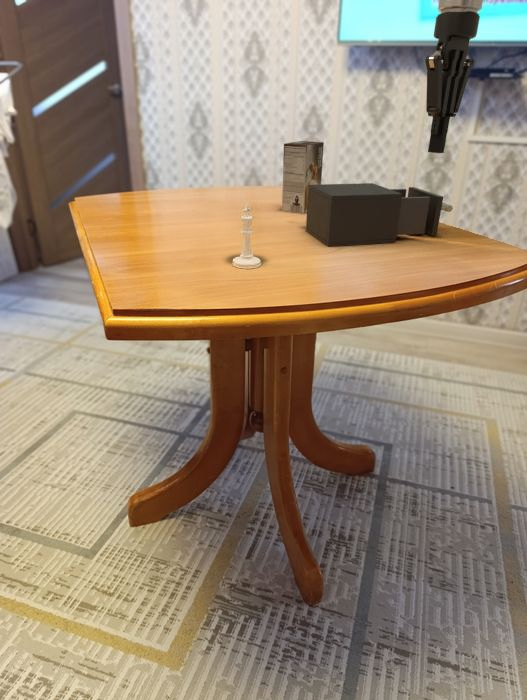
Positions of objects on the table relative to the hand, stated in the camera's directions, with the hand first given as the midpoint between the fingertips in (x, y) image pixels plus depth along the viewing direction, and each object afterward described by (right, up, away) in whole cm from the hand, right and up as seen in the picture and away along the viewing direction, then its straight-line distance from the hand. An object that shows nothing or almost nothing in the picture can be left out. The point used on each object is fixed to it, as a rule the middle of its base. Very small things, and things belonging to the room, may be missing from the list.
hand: (435, 152), depth 102 cm
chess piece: (-38, -25, -15) cm, 48 cm away
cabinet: (-17, -16, +3) cm, 24 cm away
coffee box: (-25, -6, +24) cm, 36 cm away
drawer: (-5, -14, +6) cm, 16 cm away
